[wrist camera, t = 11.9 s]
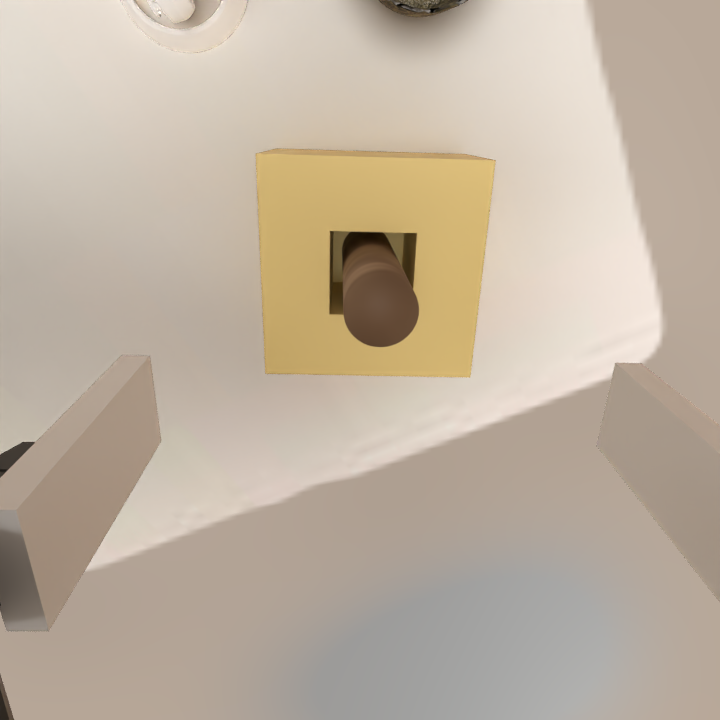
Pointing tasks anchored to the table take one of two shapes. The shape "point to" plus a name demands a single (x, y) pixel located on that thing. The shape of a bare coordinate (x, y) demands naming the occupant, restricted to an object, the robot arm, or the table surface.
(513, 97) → the table surface
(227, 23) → the hook
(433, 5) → the cup
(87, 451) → the robot arm
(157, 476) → the table surface
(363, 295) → the walnut peg
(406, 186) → the hole block
